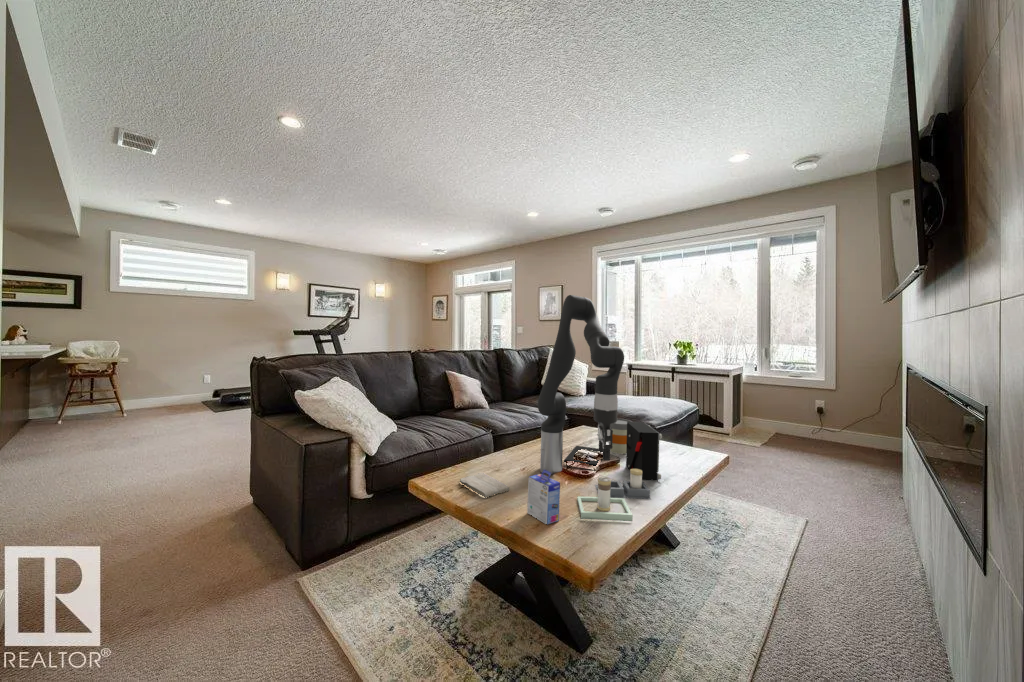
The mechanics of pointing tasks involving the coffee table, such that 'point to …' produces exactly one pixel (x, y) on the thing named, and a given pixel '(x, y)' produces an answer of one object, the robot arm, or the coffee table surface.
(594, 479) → the coffee table surface
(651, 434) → the electrical component
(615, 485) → the fuse block
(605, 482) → the fuse
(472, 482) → the washcloth
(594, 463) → the dark grey flat frame
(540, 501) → the ink cartridge box
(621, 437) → the reusable coffee cup
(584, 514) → the pale green rectangular frame
